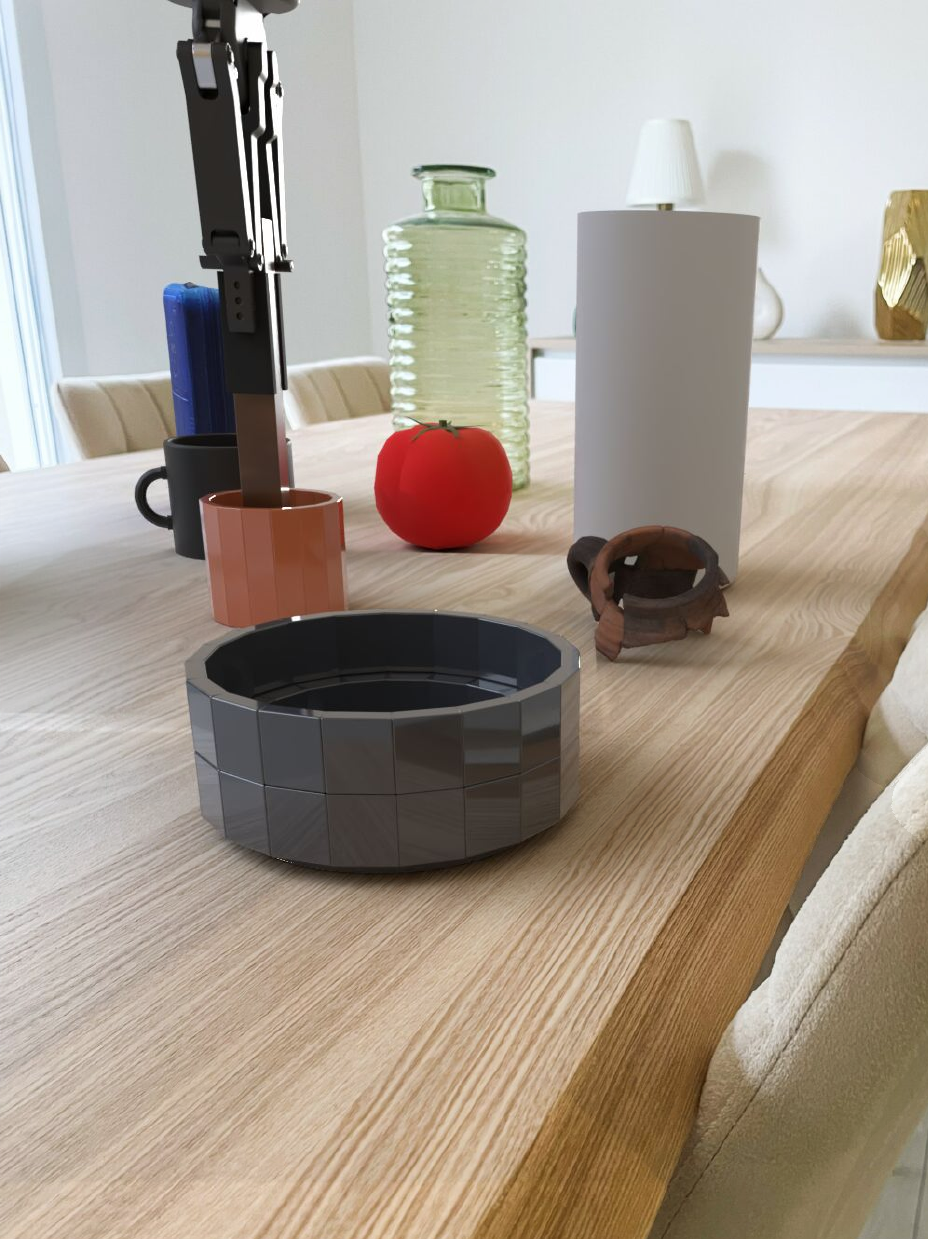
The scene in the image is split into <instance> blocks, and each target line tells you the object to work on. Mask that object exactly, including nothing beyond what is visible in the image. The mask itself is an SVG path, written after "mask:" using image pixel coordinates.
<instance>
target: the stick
mask: <svg viewBox="0 0 928 1239" xmlns="http://www.w3.org/2000/svg"><path fill="white" fill-rule="evenodd" d="M260 224H261V246H262V255H263V264H262V269H261V271H254V272H259V273H269V288H270V302H271V316H272V331H273V345H274V360H275V374H276V389H277V394H274V395H269V394H239V393H233V395H234V407H235V419H236V431H237V443H238V455H239V467H240V479H241V492H242V504H243V507H244V508H285V507H291V506H290V491H289V476H288V462H287V447H286V438H287V435H286V434H287V432H286V418H285V404H284V390H283V387H282V372H281V357H280V342H279V327H278V313H277V298H276V283H275V273H276V272H275V268H274V253H273V238H272V223H271V220H269V219H265V218H260Z"/></svg>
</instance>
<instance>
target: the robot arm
mask: <svg viewBox="0 0 928 1239" xmlns="http://www.w3.org/2000/svg"><path fill="white" fill-rule="evenodd" d="M167 1H168V2H170V3H172V4H174V5H178V6H181V7H184V8H188V9H191V32H192V38H188V39H186V40H177V42H176V49H175V54H176V59H177V61H178V65H179V66H178V67H179V71H180V75H181V76H180V77H181V81H182V86H183V91H184V95H185V103H186V112H187V120H188V129H189V136H190V146H191V154H192V155H191V156H192V163H193V171H194V180H195V187H196V188H195V189H196V197H197V204H198V214H199V222H200V223H199V224H200V231H201V246H202V249H203V253H204V254H205V255H198V259H199V264H200V267H201V269H202V270H216V277H217V289H218V291H219V303H220V315H221V327H222V339H223V350H224V362H225V374H226V386H227V393H239V394H269V395H274V394H277V389H276V374H275V360H274V345H273V331H272V316H271V302H270V288H269V273H259V272H254V271H261V269H262V264H263V255H262V246H261V224H260V218H265V219H269V220H271V223H272V238H273V253H274V268H275V283H276V298H277V313H278V327H279V342H280V357H281V372H282V387H283V391H287V390H289V385H288V384H289V382H288V369H287V354H286V353H287V352H286V351H287V350H286V338H285V324H284V308H283V292H282V291H283V290H282V278H281V277H282V276H281V273H294V269H295V260H294V259H293V260H292V259H288V254H289V247H288V245H287V230H286V229H287V226H286V202H285V200H286V198H285V178H284V176H285V175H284V154H283V153H284V150H283V128H282V125H283V124H282V123H283V100H284V99H283V97H284V95H285V94H284V87H283V86H282V82H281V80H280V79H279V68H278V60H277V55H276V51H275V50H268V44H267V38H266V37H267V36H266V28H264V24H265V22H264V21H265V20H264V19H265V18H266V17H267V16H269V15H271V14H275V15H283V14H286V13H290V12H292V11H294V10H295V9H296V8H298V6H299V5H300V3H301V0H167Z"/></svg>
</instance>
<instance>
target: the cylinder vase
mask: <svg viewBox="0 0 928 1239" xmlns="http://www.w3.org/2000/svg"><path fill="white" fill-rule="evenodd" d="M576 215H577V218H576V221H577V224H576V226H577V228H576V298H575V299H576V303H575V305H576V306H575V307H576V308H575V317H576V318H575V377H574V378H575V380H574V381H575V384H574V386H575V387H574V390H575V391H574V464H573V465H574V466H573V468H574V470H573V471H574V472H573V537H572V538H573V540H572V542H573V544H574V543H576V542H577V540H578V539H580V538H581V537H584V536H596V537H600V538H604V539H606V540H607V541H609V540H611V539H612V538H613V537H615V536H617V535H618V534H620V533H623V532H625V531H628V530H630V529H633V528H637V527H643V526H652V525H660V526H662V527H664V526H670V527H676V528H679V529H682V530H686V531H688V532H690V533H692V534H693V535H696V536H699V537H701V538H702V539H704V540H705V541H706V542H707V543H708V544H709V545H710V546H711V547H712V548H713V549H714V550H715V551H716V553H717V554H718V556H719V563H718V566H719V567H720V568H721V569H722V570H723V572H724V573H725V574H726V576H727V577H728V579H729V581H730V584H726V585H724V586H720V585H719V587H720V589H721V590H722V589H725V588H726V587H729V586H730V585H731V584H732V583H733V582H734V581H735V580H736V578H737V576H738V570H739V558H740V557H739V556H740V544H741V543H740V542H741V529H742V528H741V527H742V513H743V511H742V510H743V497H744V482H745V468H746V454H747V453H746V452H747V451H746V450H747V437H748V422H749V408H750V407H749V406H750V405H749V404H750V392H751V379H752V378H751V377H752V361H753V346H754V330H755V316H756V300H757V285H758V271H759V256H760V255H759V254H760V240H761V228H762V227H761V226H762V217H761V216H758V215H753V214H744V213H733V212H717V211H716V212H715V211H694V210H664V209H663V210H662V209H659V210H656V209H654V210H653V209H651V210H650V209H621V210H618V209H616V210H615V209H614V210H612V209H611V210H589V211H588V210H587V211H581V212H577V214H576ZM573 544H572V545H573ZM636 559H637V556H634V557H627V558H626V560H625V564H628V565H630V564H631V565H634V563H635V561H636ZM704 575H705V568H704V569H700V570H699V569H698V572H697V575H696V578H695V582H694V584H693V587H695V586H696V585H697V584H698V583H699V582H700V580H701V579H702V578H703V576H704Z"/></svg>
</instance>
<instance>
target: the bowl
mask: <svg viewBox="0 0 928 1239" xmlns="http://www.w3.org/2000/svg"><path fill="white" fill-rule="evenodd" d="M183 670H184V672H183V673H184V679H185V688H186V698H187V705H188V713H189V722H190V731H191V740H192V748H193V757H194V764H195V772H196V774H195V775H196V782H197V790H198V799H199V806H200V815H201V817H202V819H203V820H205V821H206V823H208V825H209V826H211V827H212V828H213V829H215V831H217V832H218V834H220V836H222V837H223V838H224V839H225V840H226V839H227V841H230V842H232V843H235V844H237V845H239V846H243V847H245V848H247V849H250V850H253V851H256V852H258V853H260V852H261V853H260V854H262V853H263V854H262V855H265V854H266V855H265V856H267V855H268V856H267V857H269V856H271V857H270V858H272V857H274V858H273V859H275V858H279V859H282V860H285V862H284V863H286V861H288V862H289V863H288V864H290V863H291V862H292V863H293V864H292V865H294V864H296V865H295V866H298V865H300V866H299V867H302V866H304V867H303V868H307V867H309V869H313V868H315V869H314V870H319V869H324V870H323V871H325V870H331V871H330V872H335V871H339V872H338V873H345V872H347V874H349V873H348V872H351V873H350V874H353V873H352V872H356V873H355V874H368V873H371V874H372V875H373V874H375V875H376V874H398V873H397V872H403V873H414V872H423V870H424V871H430V870H439V869H444V868H449V867H454V866H459V865H460V866H461V865H464V864H467V863H471V862H475V861H479V860H483V859H486V858H488V857H491V856H494V855H497V854H500V853H502V852H505V851H507V850H509V849H512V848H514V847H516V846H518V845H520V844H521V843H523V842H525V841H526V840H528V839H529V838H532V837H533V836H535V835H537V834H539V833H541V832H542V831H545V830H547V829H548V828H550V827H551V826H554V825H556V824H558V823H559V822H560V821H561V820H562V819H563V817H565V815H567V813H568V812H569V810H571V808H572V807H573V806H574V804H575V803H576V802H577V801H578V799H579V791H580V790H579V789H580V788H579V787H580V786H579V785H580V731H581V730H580V727H581V726H580V725H581V723H580V722H581V721H580V720H581V671H582V670H581V652H580V650H579V649H578V648H577V647H576V646H575V645H573V644H572V643H571V642H570V641H569V640H567V638H565V637H564V636H563V635H561V634H558V633H556V632H553V631H551V630H549V629H545V628H543V627H540V626H538V625H535V624H532V623H530V622H526V621H520V620H515V619H511V618H506V617H501V616H496V615H492V614H487V613H479V612H478V613H477V612H467V611H458V610H449V609H432V608H429V609H425V608H424V609H423V608H372V609H354V610H349V611H336V612H324V613H317V614H310V615H303V616H296V617H289V618H282V619H278V620H274V621H270V622H266V623H262V624H258V625H254V626H250V627H246V628H242V629H240V628H237V629H236V630H232V631H230V632H227V633H226V634H223V635H220V636H218V637H216V638H214V639H212V640H210V641H207V642H205V643H203V644H201V645H200V646H199V647H198V648H196V650H195V651H194V652H193V653H192V654H191V655H190V656H188V658H187V659H186V660H184V661H183ZM316 868H318V869H316Z"/></svg>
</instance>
